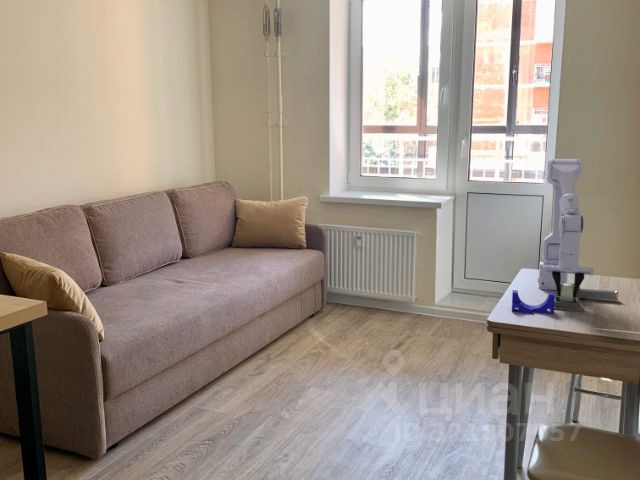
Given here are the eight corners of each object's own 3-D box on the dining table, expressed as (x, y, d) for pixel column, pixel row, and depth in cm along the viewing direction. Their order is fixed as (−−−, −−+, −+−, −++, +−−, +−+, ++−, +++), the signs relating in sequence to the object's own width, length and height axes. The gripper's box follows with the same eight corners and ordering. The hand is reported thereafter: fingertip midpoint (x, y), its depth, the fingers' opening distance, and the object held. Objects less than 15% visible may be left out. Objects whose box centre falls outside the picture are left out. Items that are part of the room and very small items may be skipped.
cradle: (549, 309, 205) (549, 302, 204) (548, 300, 214) (548, 294, 214) (584, 311, 202) (584, 305, 201) (581, 302, 211) (582, 296, 211)
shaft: (571, 298, 215) (572, 289, 215) (570, 295, 218) (571, 286, 217) (617, 301, 211) (618, 292, 211) (616, 299, 214) (617, 289, 214)
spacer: (560, 302, 206) (561, 286, 205) (558, 298, 210) (559, 283, 209) (573, 302, 205) (575, 287, 204) (572, 299, 209) (573, 283, 208)
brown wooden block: (562, 300, 214) (563, 287, 214) (561, 294, 220) (562, 283, 220) (579, 301, 213) (580, 289, 212) (577, 295, 219) (578, 284, 218)
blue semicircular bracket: (511, 313, 201) (512, 293, 200) (511, 309, 206) (512, 290, 205) (553, 316, 198) (555, 296, 197) (552, 311, 203) (554, 292, 201)
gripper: (544, 254, 203) (542, 297, 206) (596, 257, 199) (592, 301, 201) (543, 249, 210) (541, 291, 212) (593, 252, 206) (590, 295, 208)
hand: (566, 296), depth 207 cm, fingers closed on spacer, 4 cm apart
